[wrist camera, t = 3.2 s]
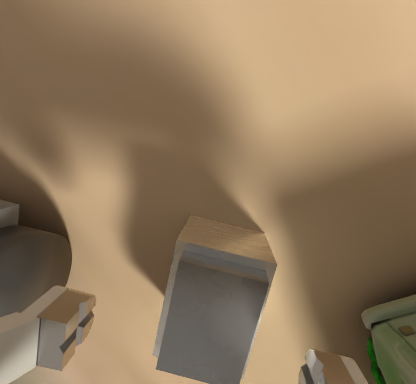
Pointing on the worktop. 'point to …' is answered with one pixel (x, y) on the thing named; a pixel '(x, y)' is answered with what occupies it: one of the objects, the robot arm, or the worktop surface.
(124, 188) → the worktop surface
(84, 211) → the worktop surface
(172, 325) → the grey wooden block
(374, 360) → the toy car
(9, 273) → the chassis
